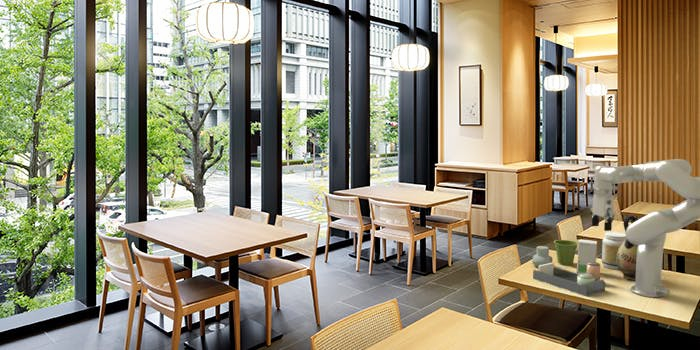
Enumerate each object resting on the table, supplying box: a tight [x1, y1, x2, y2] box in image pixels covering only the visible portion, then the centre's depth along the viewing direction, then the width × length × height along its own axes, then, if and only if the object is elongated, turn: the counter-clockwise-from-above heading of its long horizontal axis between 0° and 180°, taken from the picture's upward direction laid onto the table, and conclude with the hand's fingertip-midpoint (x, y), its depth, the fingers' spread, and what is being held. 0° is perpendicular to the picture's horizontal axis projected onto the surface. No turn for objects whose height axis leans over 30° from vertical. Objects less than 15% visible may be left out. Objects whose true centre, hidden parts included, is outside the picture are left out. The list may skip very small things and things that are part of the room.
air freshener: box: [531, 245, 554, 267], centre depth 255 cm, size 11×8×10 cm
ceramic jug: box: [616, 214, 640, 281], centre depth 234 cm, size 17×15×30 cm
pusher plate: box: [537, 262, 555, 275], centre depth 239 cm, size 5×10×6 cm, turn 120°
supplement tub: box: [601, 231, 626, 271], centre depth 252 cm, size 12×12×17 cm
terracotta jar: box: [587, 261, 601, 280], centre depth 230 cm, size 6×6×9 cm
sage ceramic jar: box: [577, 273, 595, 286], centre depth 219 cm, size 7×7×7 cm
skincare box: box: [576, 239, 598, 274], centre depth 244 cm, size 8×7×16 cm
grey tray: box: [532, 266, 606, 297], centre depth 227 cm, size 28×13×5 cm, turn 30°
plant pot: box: [553, 239, 579, 266], centre depth 260 cm, size 12×12×11 cm
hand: (601, 228), depth 233 cm, fingers open, 9 cm apart
